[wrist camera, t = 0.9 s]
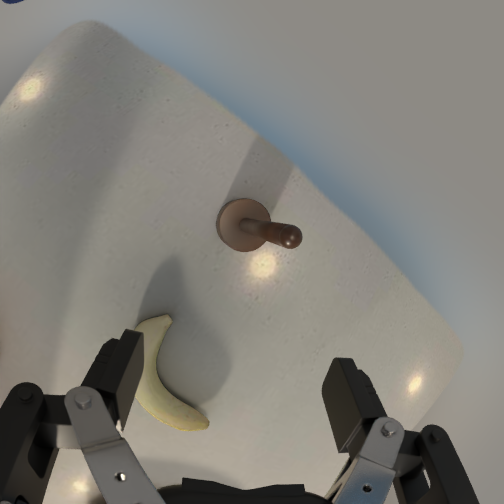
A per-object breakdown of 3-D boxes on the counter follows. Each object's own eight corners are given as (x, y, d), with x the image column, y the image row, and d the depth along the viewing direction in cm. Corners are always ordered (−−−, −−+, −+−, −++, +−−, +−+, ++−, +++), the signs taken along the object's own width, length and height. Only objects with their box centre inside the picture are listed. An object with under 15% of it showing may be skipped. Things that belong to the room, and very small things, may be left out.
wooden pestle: (207, 212, 32) (233, 215, 16) (252, 191, 32) (315, 177, 17) (229, 257, 33) (272, 299, 18) (272, 235, 34) (346, 257, 18)
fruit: (156, 429, 34) (156, 445, 30) (109, 326, 31) (103, 338, 28) (209, 417, 35) (212, 433, 32) (170, 311, 32) (169, 322, 29)
